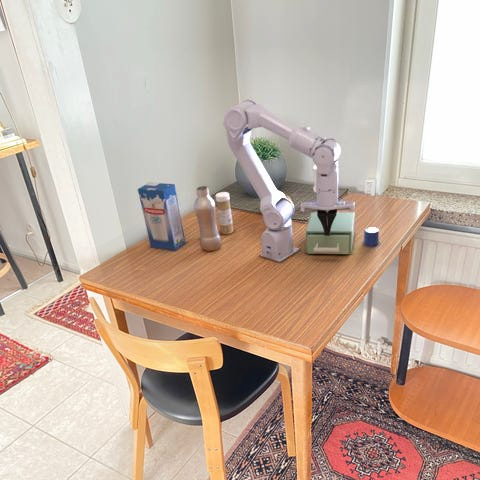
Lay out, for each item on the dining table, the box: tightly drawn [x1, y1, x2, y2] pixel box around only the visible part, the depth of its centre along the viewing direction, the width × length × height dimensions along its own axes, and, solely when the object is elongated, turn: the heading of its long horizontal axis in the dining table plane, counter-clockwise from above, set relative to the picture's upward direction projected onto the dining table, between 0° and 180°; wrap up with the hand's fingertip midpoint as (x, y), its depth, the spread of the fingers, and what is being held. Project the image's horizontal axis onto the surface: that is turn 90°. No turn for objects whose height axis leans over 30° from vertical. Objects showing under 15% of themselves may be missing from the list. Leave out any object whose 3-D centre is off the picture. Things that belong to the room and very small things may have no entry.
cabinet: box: [305, 211, 355, 255], centre depth 147 cm, size 14×13×7 cm
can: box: [363, 226, 380, 248], centre depth 145 cm, size 4×4×4 cm
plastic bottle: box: [193, 185, 222, 252], centre depth 150 cm, size 6×7×20 cm
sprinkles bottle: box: [214, 191, 234, 235], centre depth 161 cm, size 5×5×14 cm
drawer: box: [307, 233, 350, 255], centre depth 144 cm, size 18×12×6 cm, turn 166°
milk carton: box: [137, 182, 186, 252], centre depth 156 cm, size 10×6×20 cm, turn 62°
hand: (327, 234), depth 137 cm, fingers closed
